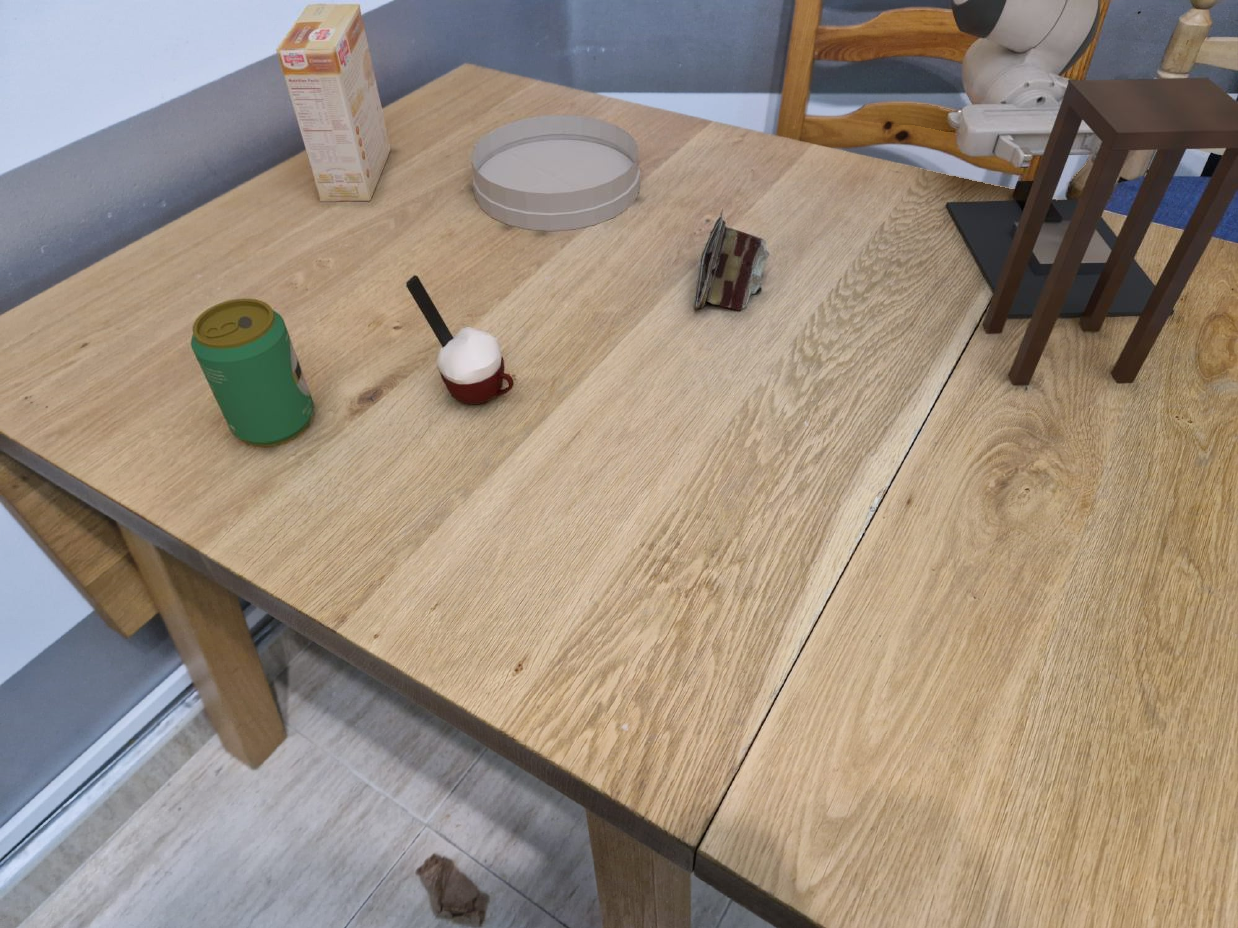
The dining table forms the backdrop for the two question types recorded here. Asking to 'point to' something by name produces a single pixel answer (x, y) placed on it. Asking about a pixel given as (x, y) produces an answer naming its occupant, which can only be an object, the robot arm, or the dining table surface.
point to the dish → (555, 172)
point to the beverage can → (253, 371)
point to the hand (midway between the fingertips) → (1065, 161)
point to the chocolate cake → (730, 267)
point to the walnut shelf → (1130, 122)
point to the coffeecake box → (336, 100)
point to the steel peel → (1058, 239)
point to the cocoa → (464, 355)
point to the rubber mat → (990, 246)
